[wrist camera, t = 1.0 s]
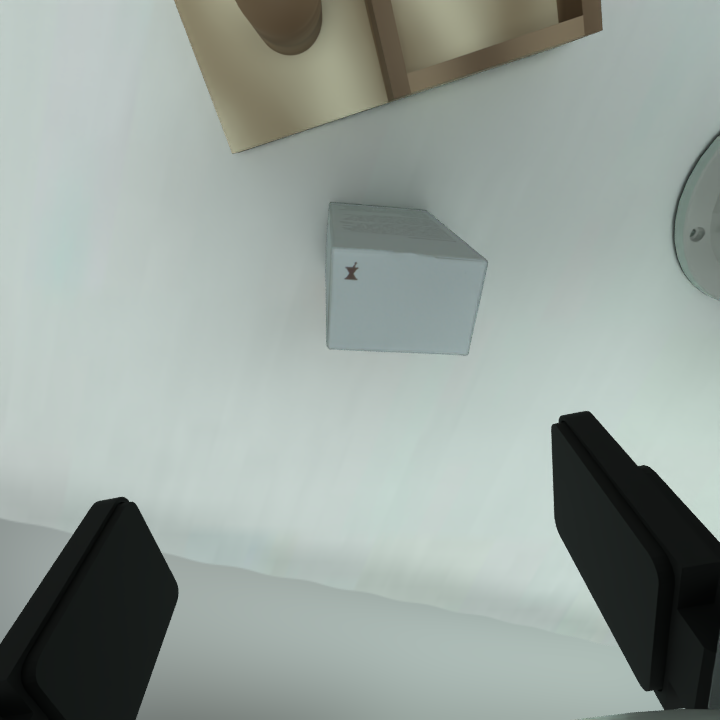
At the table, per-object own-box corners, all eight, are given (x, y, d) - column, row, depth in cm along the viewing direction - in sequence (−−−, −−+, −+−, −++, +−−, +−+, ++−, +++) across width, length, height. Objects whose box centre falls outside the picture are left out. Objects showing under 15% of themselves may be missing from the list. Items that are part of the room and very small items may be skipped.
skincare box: (324, 272, 30) (321, 351, 19) (328, 200, 28) (327, 243, 18) (421, 279, 31) (470, 360, 20) (431, 209, 29) (491, 256, 18)
